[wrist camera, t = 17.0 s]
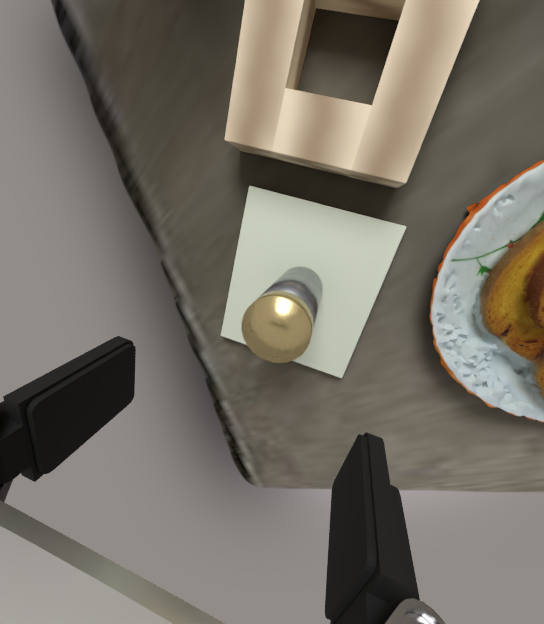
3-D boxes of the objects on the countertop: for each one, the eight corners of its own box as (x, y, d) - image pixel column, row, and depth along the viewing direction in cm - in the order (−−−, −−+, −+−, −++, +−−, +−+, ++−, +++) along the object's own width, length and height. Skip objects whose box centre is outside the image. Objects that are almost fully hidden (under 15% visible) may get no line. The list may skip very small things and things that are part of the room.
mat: (404, 226, 26) (406, 226, 25) (341, 373, 33) (341, 378, 32) (252, 186, 28) (249, 185, 27) (223, 332, 35) (220, 335, 34)
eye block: (490, -53, 19) (526, -119, 15) (396, 188, 25) (406, 183, 21) (278, -76, 21) (265, -138, 17) (240, 150, 27) (224, 140, 23)
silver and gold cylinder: (328, 274, 28) (320, 309, 17) (314, 315, 30) (299, 372, 19) (284, 261, 29) (249, 287, 18) (273, 302, 31) (235, 349, 20)
